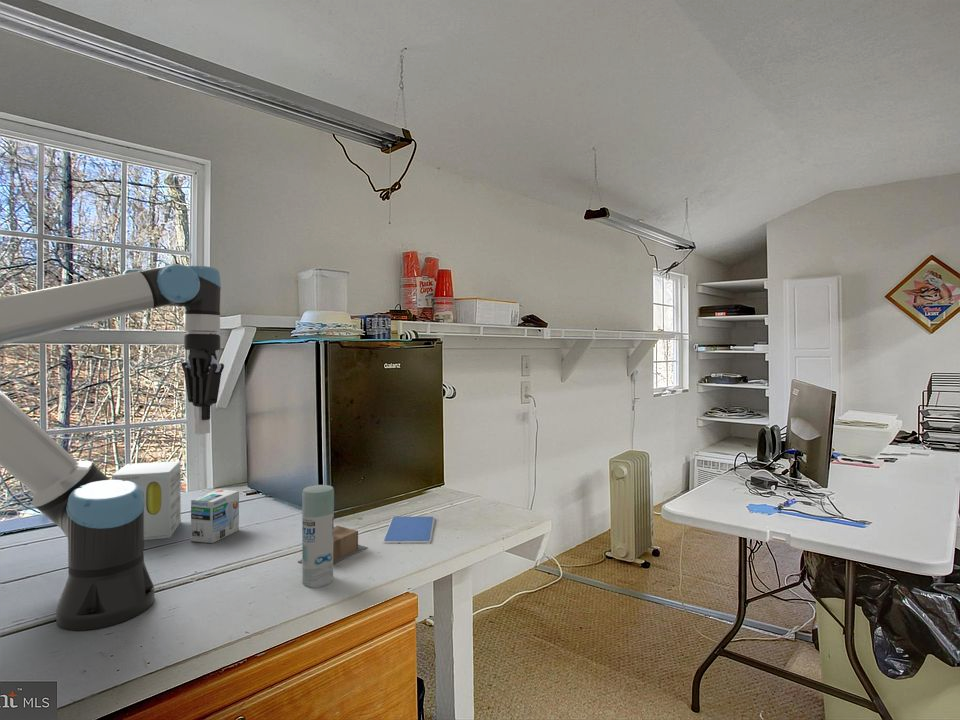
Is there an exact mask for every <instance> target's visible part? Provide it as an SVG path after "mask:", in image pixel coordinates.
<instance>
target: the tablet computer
mask: <svg viewBox="0 0 960 720" xmlns="http://www.w3.org/2000/svg"><path fill="white" fill-rule="evenodd" d="M435 520H436V518H435V517H434V516H393V517H391V519H390V522H389V523H388V524H389V525H388V527H387V530H386V533H385V534H384V536H383V540H382V544H384V545H428V544H427V543H430V544H431V543H432V540H433V532H434V525H435Z"/></svg>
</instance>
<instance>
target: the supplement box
mask: <svg viewBox="0 0 960 720" xmlns="http://www.w3.org/2000/svg"><path fill="white" fill-rule="evenodd" d="M181 464H182V461H181V460H178V461H176V460H175V461H155V462H137V463H126V464H125V465H124V466H122V467H121V468H119V469H118V470H116V472H114V473H113V474H111V480H123V481H131V482H134V483H136V484H138V485H139V486H140V487H141V488H142V491H143V497H144V500H145V502H144V503H145V506H144V541H150V540H151V541H152V540H161V539H163V540H164V539H170V538H171V537H172V536H173V534H174V533H175V531H176V530H177V528H178V527H179V525H180V524H181V522H182V521H181V520H182V518H181V515H182V514H181V512H182V511H181V509H182V508H181V489H182V488H181V483H182V482H181V469H182V468H181Z"/></svg>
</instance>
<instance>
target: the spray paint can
mask: <svg viewBox="0 0 960 720" xmlns="http://www.w3.org/2000/svg"><path fill="white" fill-rule="evenodd" d="M301 495H302V496H301V497H302V498H301V499H302V500H301V501H302V502H301V503H302V506H301V507H302V508H301V510H302V512H301V513H302V514H301V516H302V517H301V519H302V520H301V521H302V522H301V524H302V526H301V528H302V530H301V531H302V533H301V534H302V537H301V538H302V539H301V541H302V544H301V545H302V546H301V547H302V548H301V550H302V552H301V553H302V557H301V560H302V563H301V564H302V566H301V567H302V572H301V573H302V576H301V577H302V580H301V581H302V584H303V586H305V587H306V588H307V587H308V588H314V589H315V588H321V587H326V586H327V585H329V584H331V583H332V582H333V578H334V565H333V533H334V527H335V525H334V524H335V523H334V522H335V520H334V519H335V518H334V517H335V515H334V513H335V511H334V510H335V490H334V487H333V486H331V485H328V484H315V485H309V486H306V487H304V488H303V490H302V493H301Z"/></svg>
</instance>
